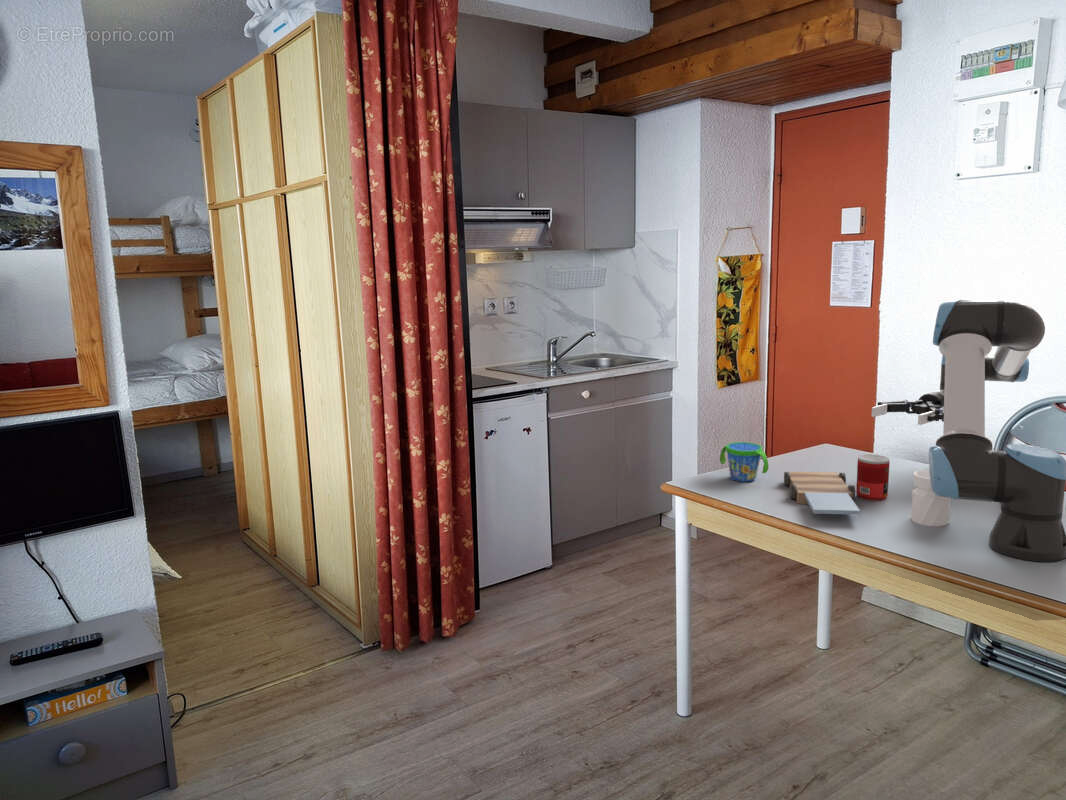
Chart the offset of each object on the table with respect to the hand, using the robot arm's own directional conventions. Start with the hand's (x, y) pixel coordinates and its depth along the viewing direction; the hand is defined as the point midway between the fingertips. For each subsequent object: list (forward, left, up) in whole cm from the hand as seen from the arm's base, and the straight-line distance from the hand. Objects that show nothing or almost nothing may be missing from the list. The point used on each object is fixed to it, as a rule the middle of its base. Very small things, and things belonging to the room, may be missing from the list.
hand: (895, 415), depth 218 cm
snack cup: (+14, +38, -21) cm, 46 cm away
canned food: (-6, +8, -21) cm, 24 cm away
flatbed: (-1, +21, -21) cm, 30 cm away
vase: (-26, +2, -21) cm, 33 cm away
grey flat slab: (-11, +23, -18) cm, 31 cm away
